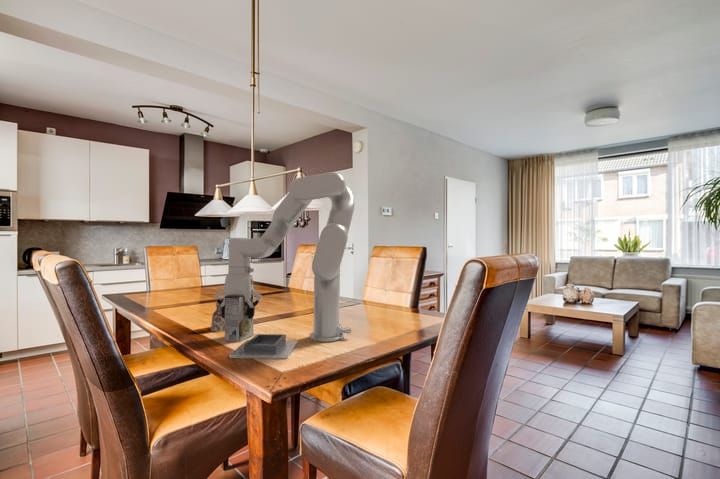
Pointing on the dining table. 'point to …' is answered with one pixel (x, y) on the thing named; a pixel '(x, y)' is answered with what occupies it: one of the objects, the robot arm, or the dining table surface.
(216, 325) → the figurine
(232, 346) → the dining table surface
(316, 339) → the robot arm
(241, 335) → the coffee box
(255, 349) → the locating jig
